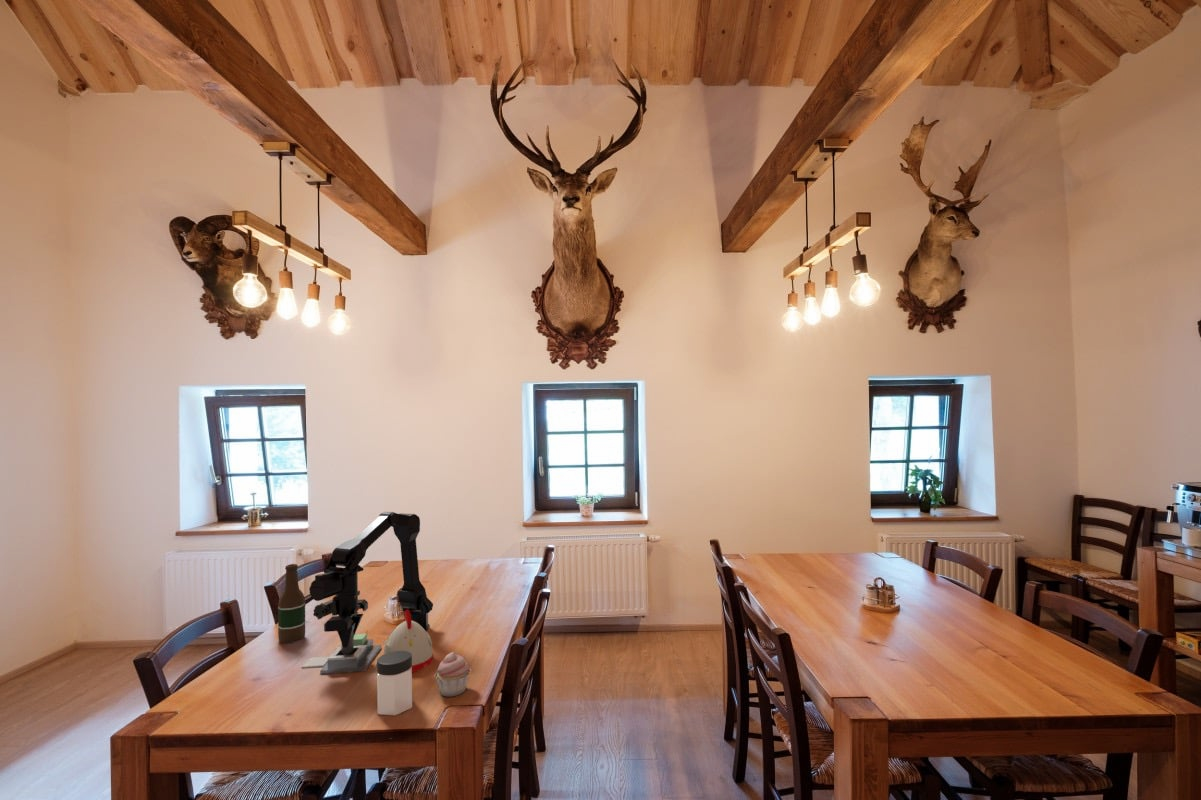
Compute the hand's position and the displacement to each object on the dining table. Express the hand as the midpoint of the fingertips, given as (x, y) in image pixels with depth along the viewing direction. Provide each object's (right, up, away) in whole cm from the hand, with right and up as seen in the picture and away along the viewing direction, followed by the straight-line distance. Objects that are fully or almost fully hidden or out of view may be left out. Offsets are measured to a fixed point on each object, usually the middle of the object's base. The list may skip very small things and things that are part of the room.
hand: (347, 644), depth 160 cm
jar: (+23, -5, -24) cm, 33 cm away
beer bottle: (-28, -8, +22) cm, 37 cm away
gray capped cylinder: (0, -4, 0) cm, 4 cm away
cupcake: (+35, -5, -17) cm, 39 cm away
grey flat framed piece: (0, -6, +4) cm, 7 cm away
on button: (-1, -3, +8) cm, 9 cm away
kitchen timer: (+17, -6, +1) cm, 18 cm away
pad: (-10, -7, +3) cm, 12 cm away
